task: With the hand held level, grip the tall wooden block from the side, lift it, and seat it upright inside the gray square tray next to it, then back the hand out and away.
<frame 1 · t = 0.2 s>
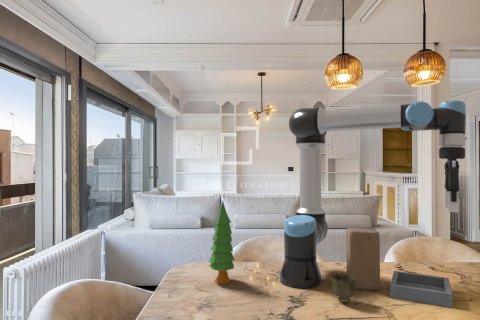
hand: (451, 210, 113), 27 cm above the table, tool pointing down, fingers open, 13 cm apart
cup: (344, 302, 105), on the table
wooden block: (362, 286, 119), on the table
decorative tree: (221, 281, 125), on the table
gray square tray: (420, 293, 112), on the table
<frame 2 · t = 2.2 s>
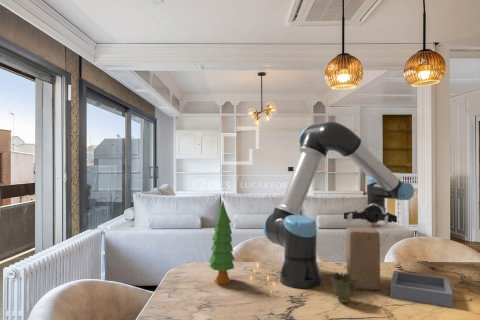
hand: (366, 220, 129), 22 cm above the table, tool horizontal, fingers open, 13 cm apart
nothing on the table moved.
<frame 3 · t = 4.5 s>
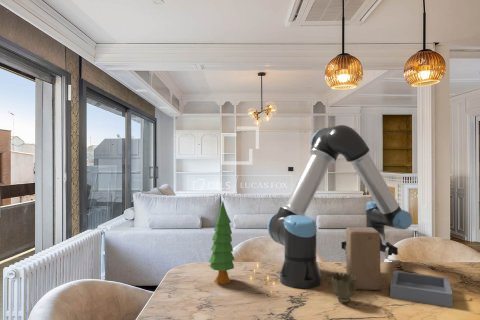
hand: (365, 252, 122), 11 cm above the table, tool horizontal, fingers open, 13 cm apart
wooden block: (362, 286, 119), on the table, touching gripper
everything else where it was.
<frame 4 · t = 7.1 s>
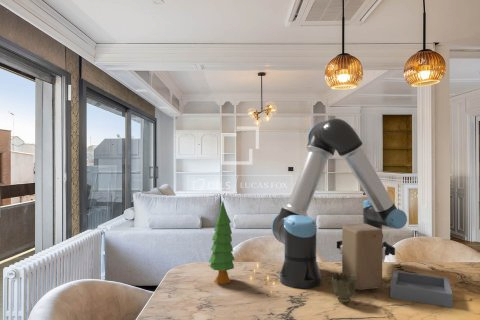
hand: (361, 252, 117), 12 cm above the table, tool horizontal, fingers closed on wooden block, 13 cm apart
wooden block: (361, 284, 116), point 1 cm above the table, touching gripper
everything else where it was.
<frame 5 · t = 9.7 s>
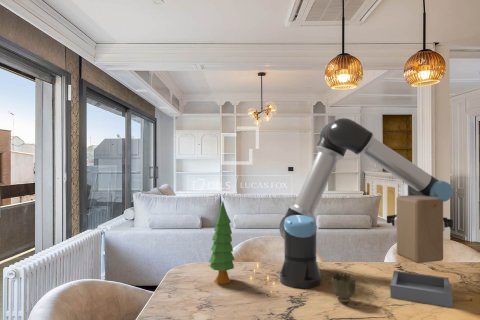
hand: (418, 225, 109), 23 cm above the table, tool horizontal, fingers closed on wooden block, 13 cm apart
wooden block: (419, 258, 109), point 12 cm above the table, touching gripper
everything else where it was.
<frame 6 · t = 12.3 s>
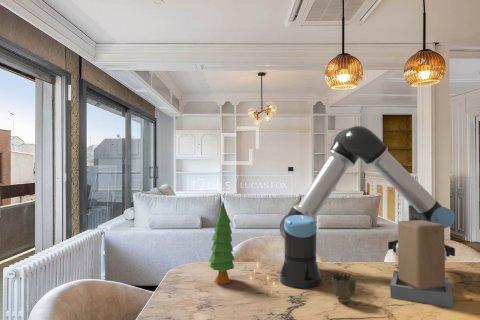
hand: (420, 253, 109), 14 cm above the table, tool horizontal, fingers closed on wooden block, 13 cm apart
wooden block: (421, 284, 109), point 4 cm above the table, touching gray square tray, gripper
everything else where it was.
when the fingers open (14 cm above the table, at t = 14.1 s): wooden block drops 3 cm, resting on gray square tray.
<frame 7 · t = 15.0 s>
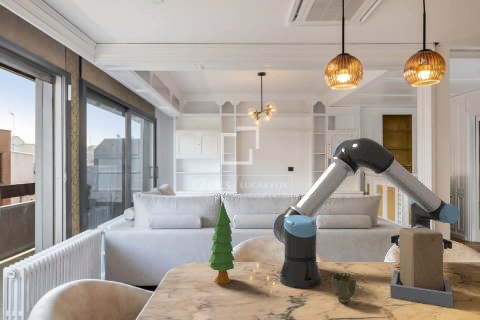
hand: (420, 246, 119), 14 cm above the table, tool horizontal, fingers open, 13 cm apart
wooden block: (420, 290, 112), point 1 cm above the table, touching gray square tray
everything else where it was.
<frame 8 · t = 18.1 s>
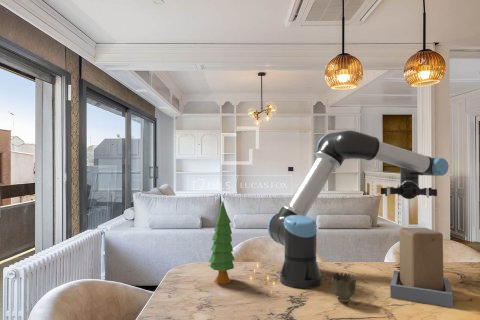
hand: (407, 193, 128), 32 cm above the table, tool horizontal, fingers open, 13 cm apart
nothing on the table moved.
at the end: wooden block 0.3 cm off-centre on the gray square tray, point 0.8 cm above the gray square tray's base; wooden block tilted 0°; the gripper is holding nothing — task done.
